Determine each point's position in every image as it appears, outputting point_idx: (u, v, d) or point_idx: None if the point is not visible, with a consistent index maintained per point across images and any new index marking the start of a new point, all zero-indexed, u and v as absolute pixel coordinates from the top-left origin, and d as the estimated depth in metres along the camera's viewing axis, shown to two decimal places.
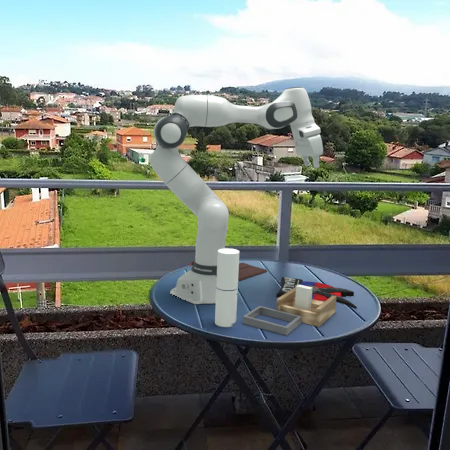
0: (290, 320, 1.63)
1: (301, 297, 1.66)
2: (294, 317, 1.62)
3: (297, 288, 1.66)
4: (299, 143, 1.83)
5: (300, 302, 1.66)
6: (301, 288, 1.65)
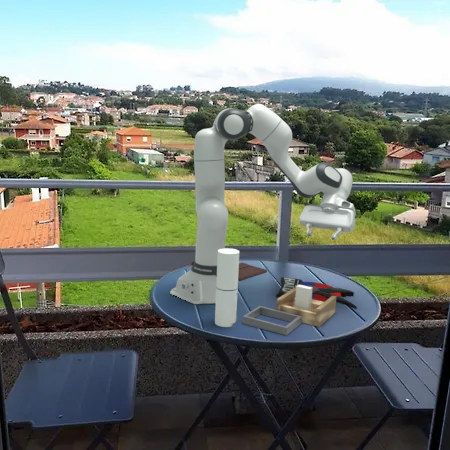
0: (290, 320, 1.63)
1: (301, 297, 1.66)
2: (294, 317, 1.62)
3: (297, 288, 1.66)
4: (317, 212, 1.78)
5: (300, 302, 1.66)
6: (301, 288, 1.65)
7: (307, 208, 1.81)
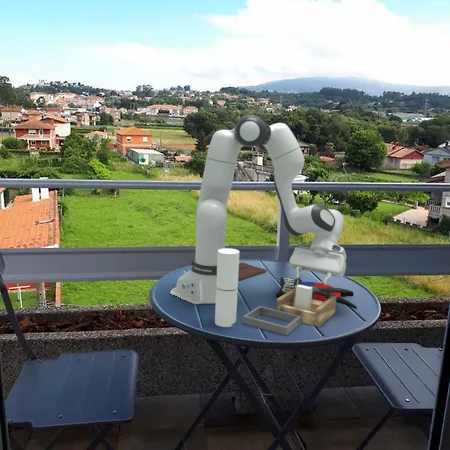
0: (290, 320, 1.63)
1: (301, 297, 1.66)
2: (294, 317, 1.62)
3: (297, 288, 1.66)
4: (307, 255, 1.76)
5: (300, 302, 1.66)
6: (301, 288, 1.65)
7: (297, 250, 1.78)
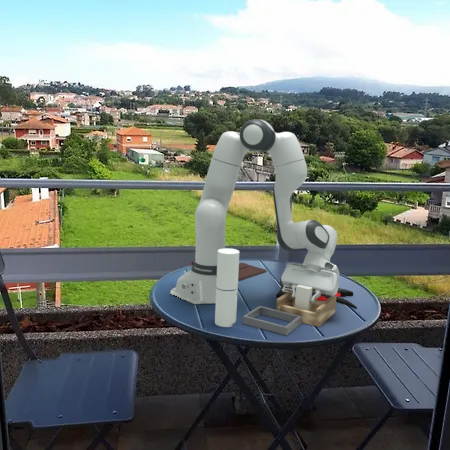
0: (290, 320, 1.63)
1: (301, 297, 1.66)
2: (294, 317, 1.62)
3: (297, 288, 1.66)
4: (299, 272, 1.72)
5: (300, 302, 1.66)
6: (301, 288, 1.65)
7: (289, 267, 1.74)
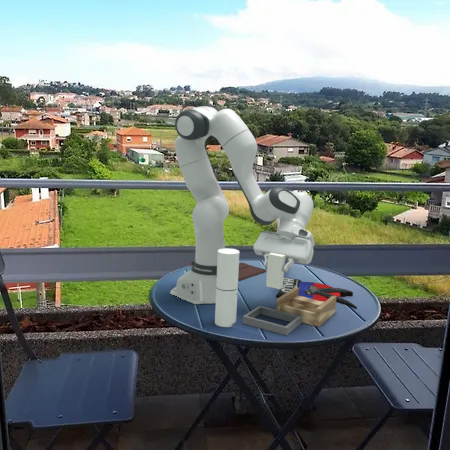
0: (290, 320, 1.63)
1: (273, 265, 1.57)
2: (294, 317, 1.62)
3: (269, 256, 1.57)
4: (272, 240, 1.63)
5: (272, 270, 1.57)
6: (273, 256, 1.56)
7: (262, 235, 1.65)
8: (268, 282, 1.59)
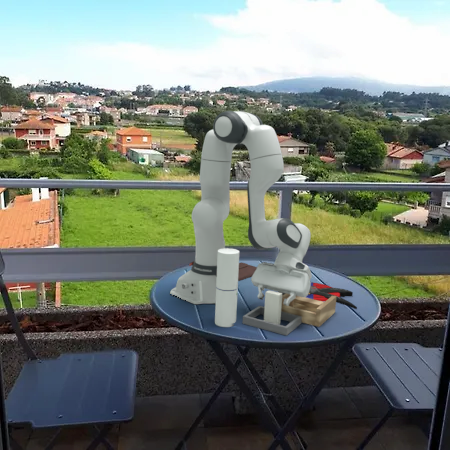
0: (290, 320, 1.63)
1: (270, 303, 1.59)
2: (294, 317, 1.62)
3: (266, 294, 1.60)
4: (270, 273, 1.65)
5: (269, 308, 1.60)
6: (270, 294, 1.59)
7: (260, 267, 1.67)
8: (266, 319, 1.61)
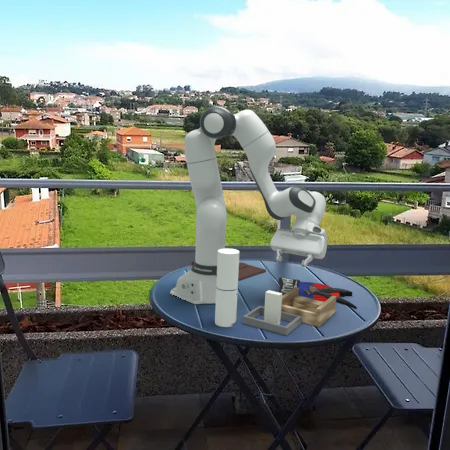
0: (290, 320, 1.63)
1: (270, 303, 1.59)
2: (294, 317, 1.62)
3: (266, 294, 1.60)
4: (288, 237, 1.74)
5: (269, 308, 1.60)
6: (270, 294, 1.59)
7: (278, 232, 1.76)
8: (266, 319, 1.61)
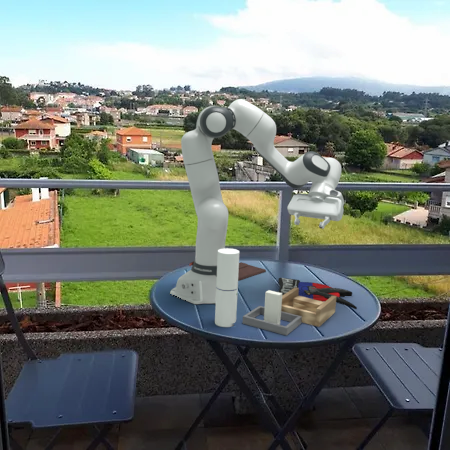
0: (290, 320, 1.63)
1: (270, 303, 1.59)
2: (294, 317, 1.62)
3: (266, 294, 1.60)
4: (305, 201, 1.78)
5: (269, 308, 1.60)
6: (270, 294, 1.59)
7: (295, 197, 1.80)
8: (266, 319, 1.61)
